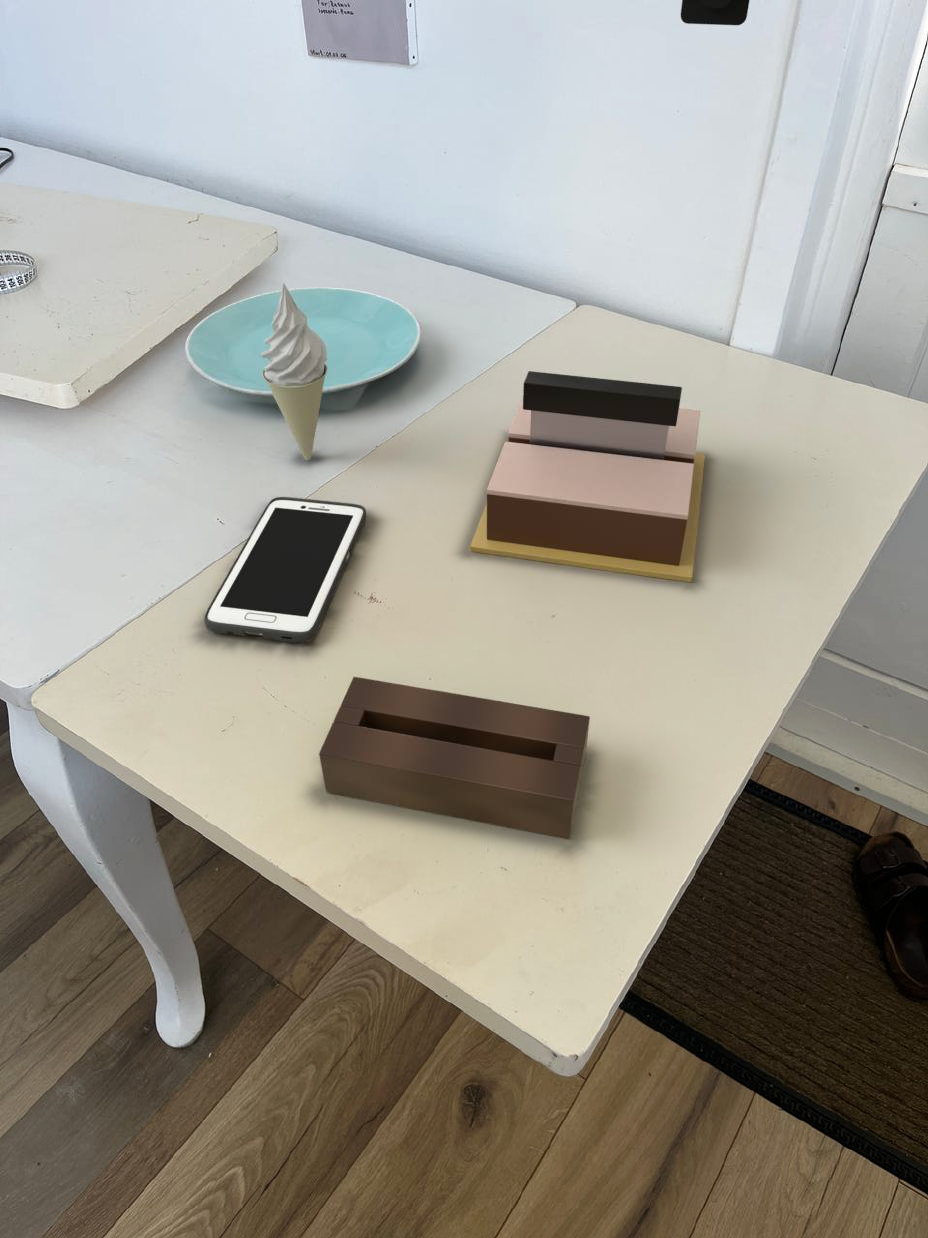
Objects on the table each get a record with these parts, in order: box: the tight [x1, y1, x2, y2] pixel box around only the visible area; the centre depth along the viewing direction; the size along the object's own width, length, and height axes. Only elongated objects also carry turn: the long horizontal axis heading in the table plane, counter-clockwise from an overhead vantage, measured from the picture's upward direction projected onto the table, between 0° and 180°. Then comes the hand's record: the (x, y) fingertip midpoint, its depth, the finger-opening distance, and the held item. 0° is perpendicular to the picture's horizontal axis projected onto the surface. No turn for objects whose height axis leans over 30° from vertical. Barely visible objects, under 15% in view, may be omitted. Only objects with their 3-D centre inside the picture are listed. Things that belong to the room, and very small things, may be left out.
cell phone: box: [203, 496, 367, 643], centre depth 68 cm, size 8×15×1 cm, turn 169°
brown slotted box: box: [318, 676, 591, 840], centre depth 54 cm, size 14×6×4 cm, turn 76°
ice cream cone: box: [261, 283, 328, 462], centre depth 74 cm, size 5×5×15 cm
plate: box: [184, 287, 422, 398], centre depth 91 cm, size 22×22×3 cm
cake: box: [469, 396, 706, 583], centre depth 72 cm, size 16×16×5 cm
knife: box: [522, 370, 683, 460], centre depth 71 cm, size 11×2×10 cm, turn 76°
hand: (717, 2), depth 51 cm, fingers open, 9 cm apart
